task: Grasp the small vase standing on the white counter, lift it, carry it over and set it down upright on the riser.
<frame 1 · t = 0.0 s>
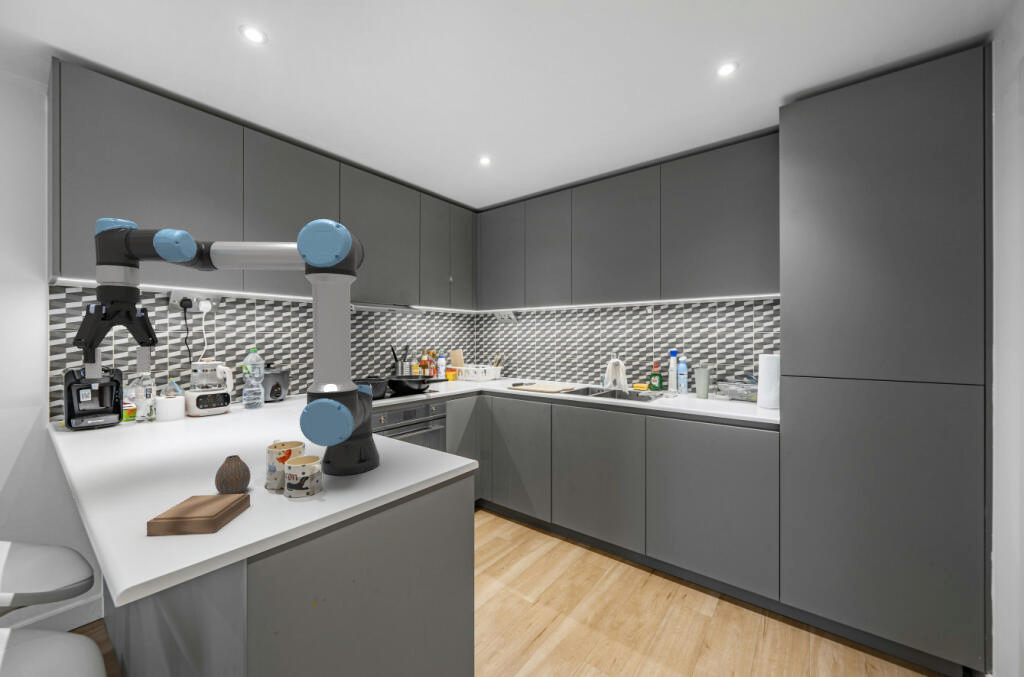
hand: (120, 375, 97), 28 cm above the worktop, fingers open, 13 cm apart
riser: (202, 519, 83), on the worktop
vase: (233, 494, 97), on the worktop
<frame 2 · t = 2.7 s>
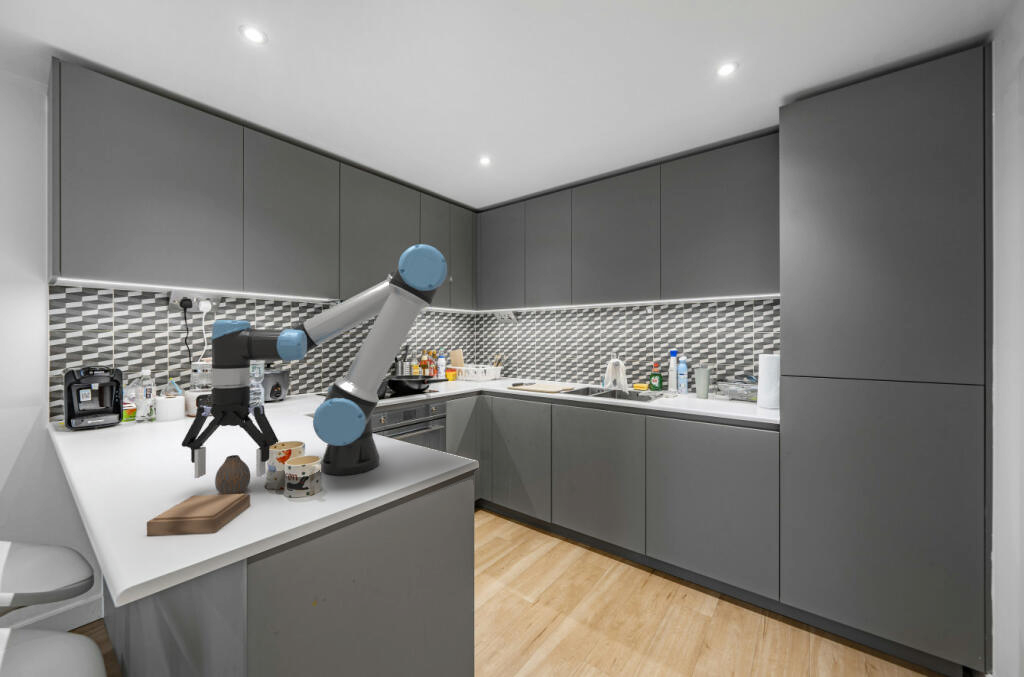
hand: (230, 475, 96), 4 cm above the worktop, fingers open, 13 cm apart
nothing on the worktop moved.
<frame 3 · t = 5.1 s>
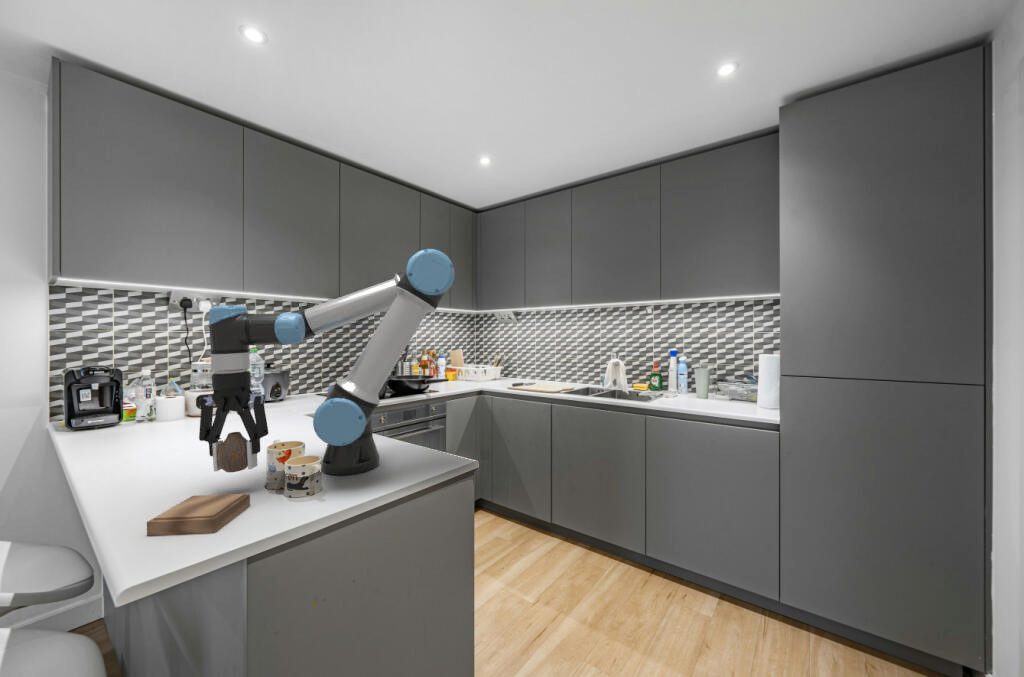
hand: (236, 468, 97), 6 cm above the worktop, fingers closed on vase, 7 cm apart
vase: (236, 470, 97), point 5 cm above the worktop, touching gripper
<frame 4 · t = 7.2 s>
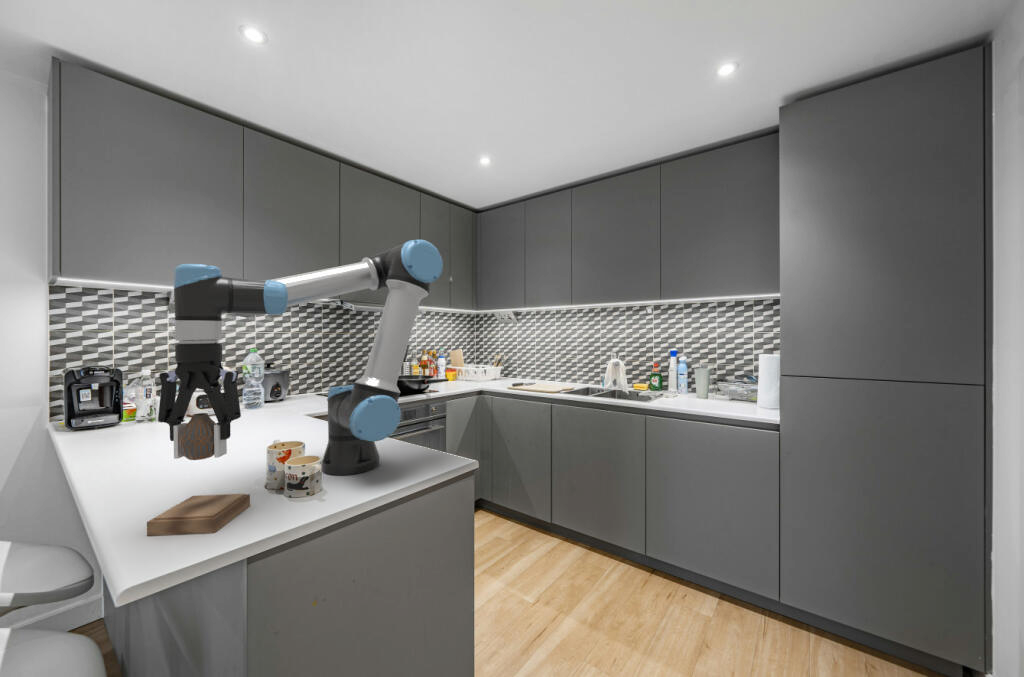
hand: (200, 455, 82), 13 cm above the worktop, fingers closed on vase, 7 cm apart
vase: (201, 458, 83), point 13 cm above the worktop, touching gripper
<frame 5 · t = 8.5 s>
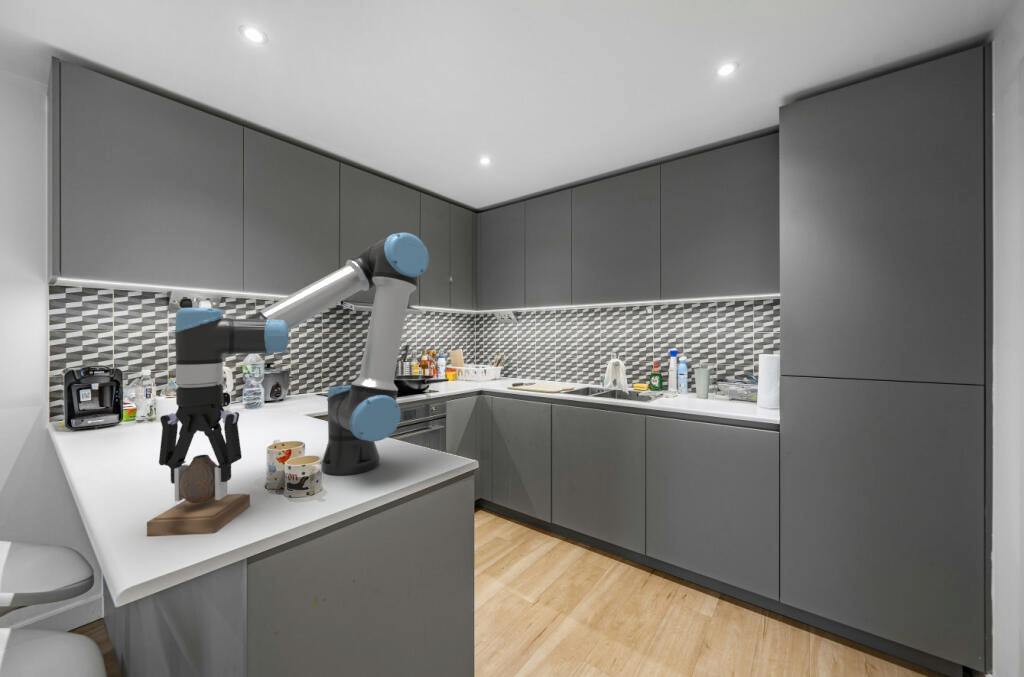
hand: (201, 497, 83), 4 cm above the worktop, fingers closed on vase, 7 cm apart
vase: (201, 500, 83), point 4 cm above the worktop, touching gripper
when the fingers open (3 cm above the worktop, at t = 9.5 s): vase stays where it is, resting on riser.
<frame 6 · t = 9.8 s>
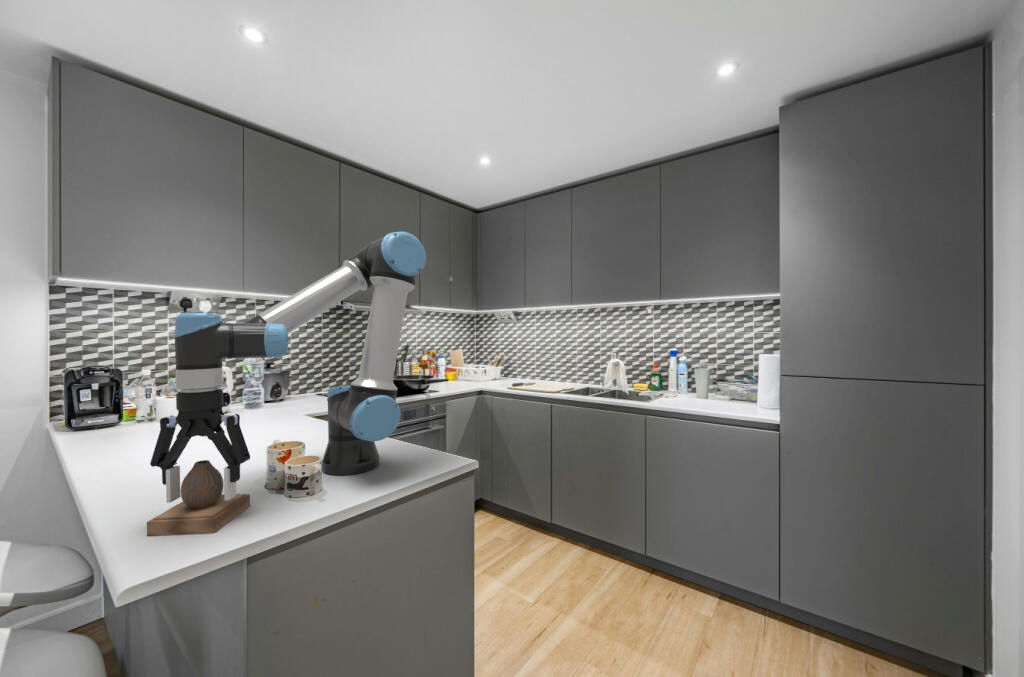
hand: (202, 498, 83), 4 cm above the worktop, fingers open, 10 cm apart
vase: (202, 505, 83), point 3 cm above the worktop, touching riser
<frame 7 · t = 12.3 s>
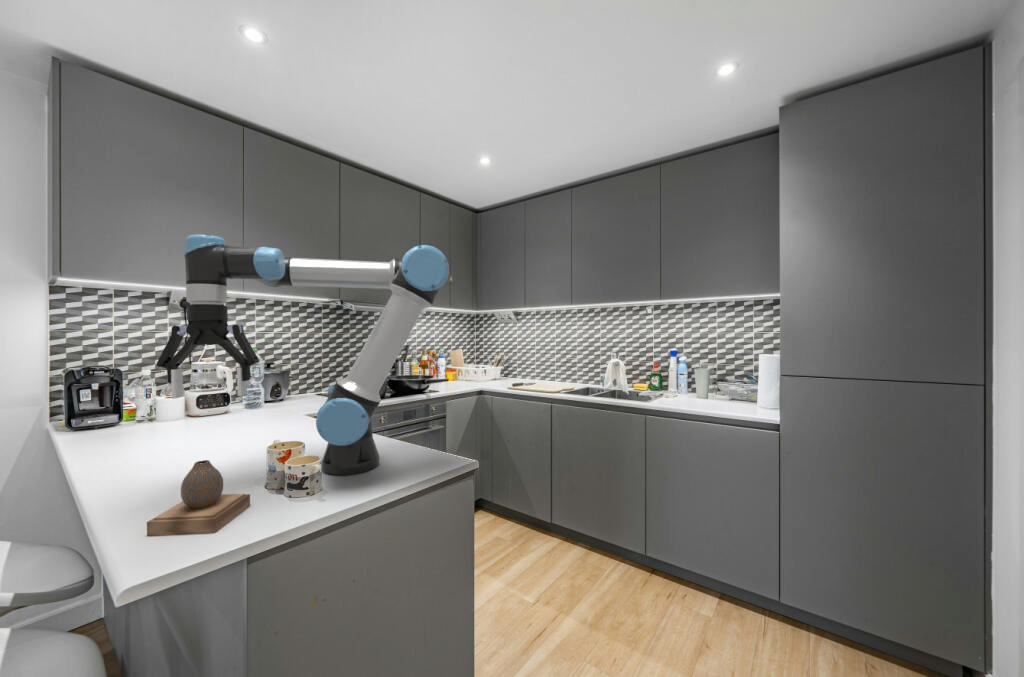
hand: (210, 396, 94), 23 cm above the worktop, fingers open, 13 cm apart
nothing on the worktop moved.
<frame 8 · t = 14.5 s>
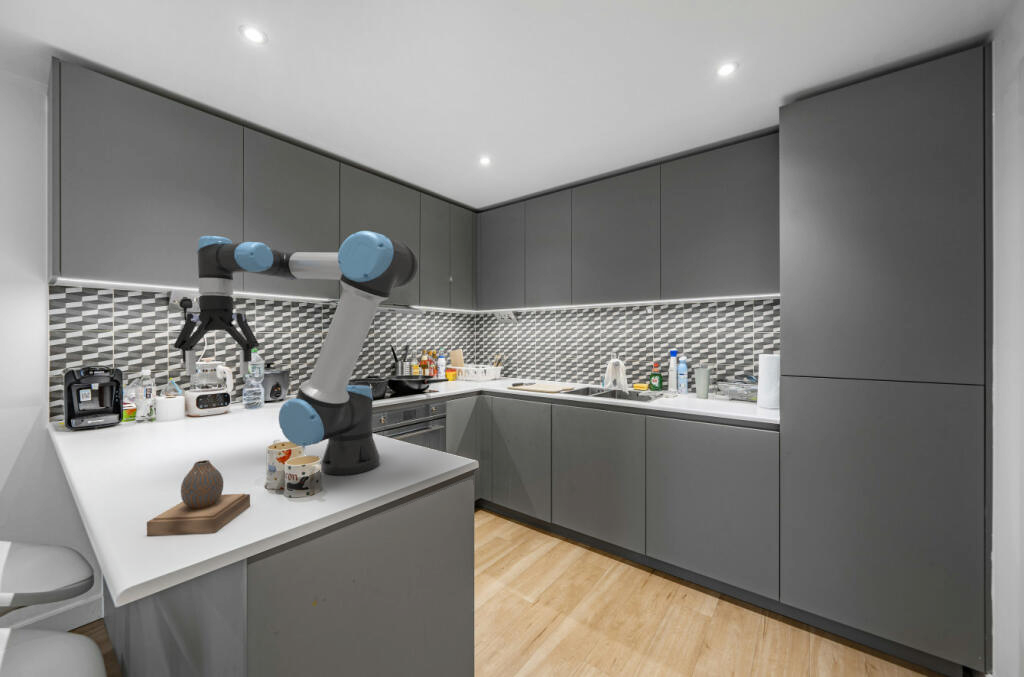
hand: (217, 374, 110), 27 cm above the worktop, fingers open, 13 cm apart
nothing on the worktop moved.
at the end: vase inside the target area on the riser (0.1 cm from its centre), point 2.8 cm above the riser's base; vase tilted 0°; the gripper is holding nothing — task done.
